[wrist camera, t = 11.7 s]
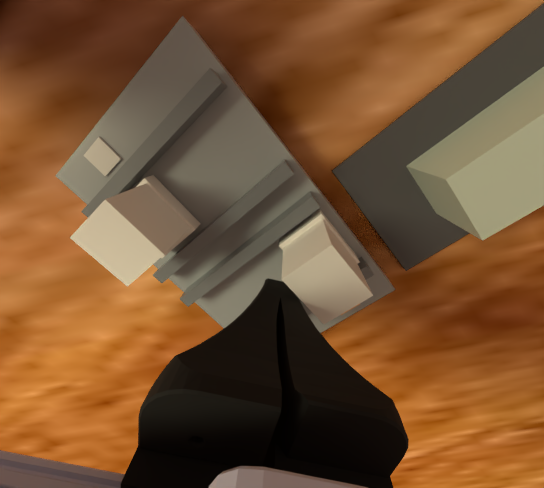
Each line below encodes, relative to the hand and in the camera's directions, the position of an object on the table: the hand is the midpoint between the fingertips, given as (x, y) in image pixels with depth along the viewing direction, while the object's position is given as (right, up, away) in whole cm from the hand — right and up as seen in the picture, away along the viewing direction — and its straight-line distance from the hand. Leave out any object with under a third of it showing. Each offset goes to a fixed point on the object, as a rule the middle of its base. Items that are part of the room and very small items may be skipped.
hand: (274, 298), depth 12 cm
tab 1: (-5, +4, +1) cm, 7 cm away
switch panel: (-2, +4, +2) cm, 5 cm away
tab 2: (+2, +2, +1) cm, 3 cm away
